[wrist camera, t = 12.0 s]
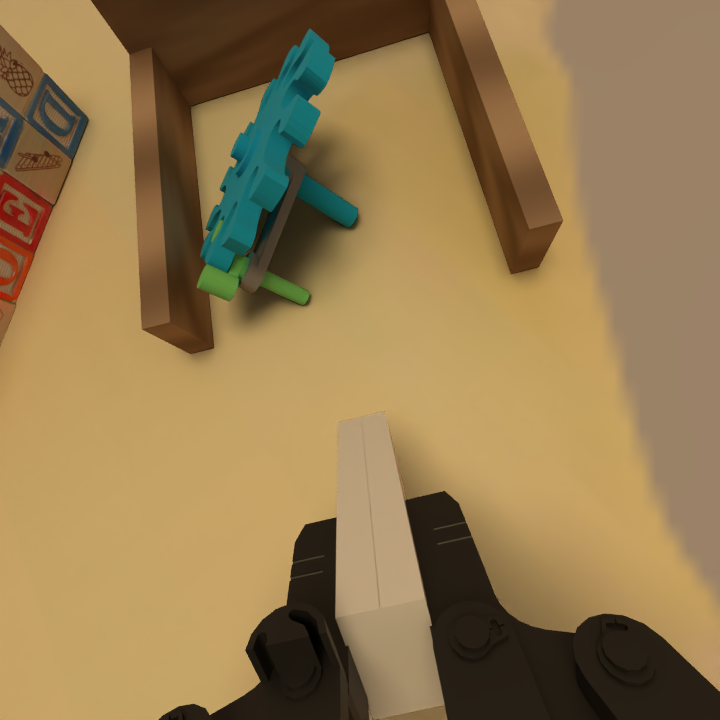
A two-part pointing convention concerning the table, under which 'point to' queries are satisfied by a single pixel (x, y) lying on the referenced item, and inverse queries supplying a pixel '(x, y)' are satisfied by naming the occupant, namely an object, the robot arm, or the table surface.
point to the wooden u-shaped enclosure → (263, 63)
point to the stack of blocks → (29, 162)
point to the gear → (270, 181)
